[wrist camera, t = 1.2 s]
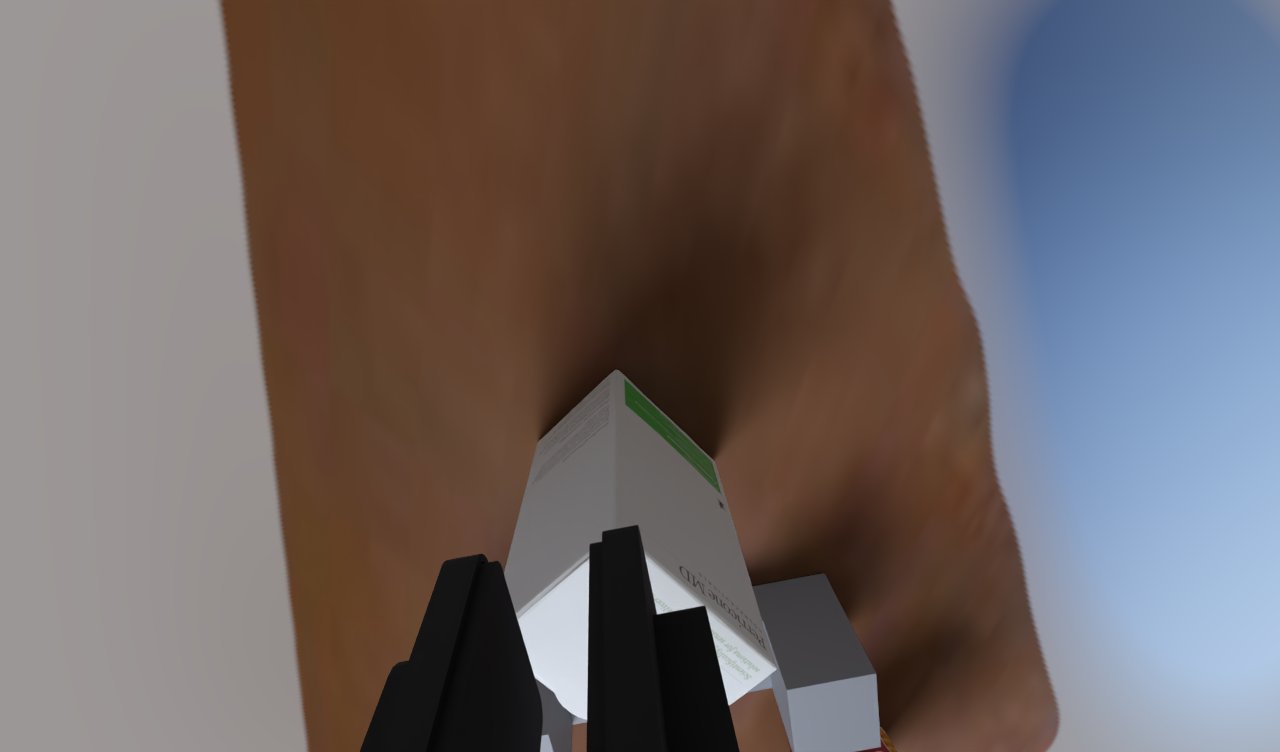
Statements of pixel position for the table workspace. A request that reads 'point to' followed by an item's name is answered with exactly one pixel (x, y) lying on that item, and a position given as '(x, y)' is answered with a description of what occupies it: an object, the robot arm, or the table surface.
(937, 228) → the table surface
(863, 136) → the table surface
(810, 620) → the u rest
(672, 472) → the skincare box
